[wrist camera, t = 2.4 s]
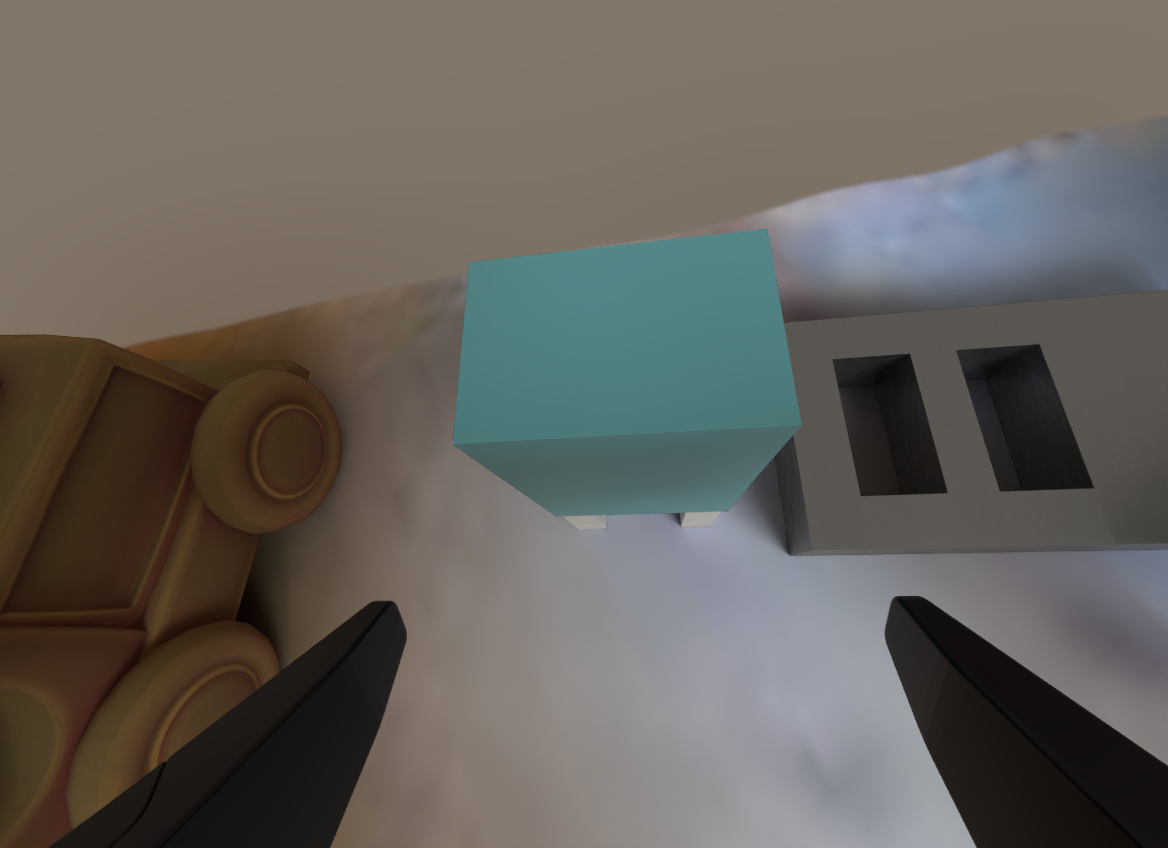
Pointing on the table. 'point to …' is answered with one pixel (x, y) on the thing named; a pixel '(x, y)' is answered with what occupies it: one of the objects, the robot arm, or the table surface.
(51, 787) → the wooden toy train
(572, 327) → the clip
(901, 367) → the grey block with holes
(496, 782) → the table surface
